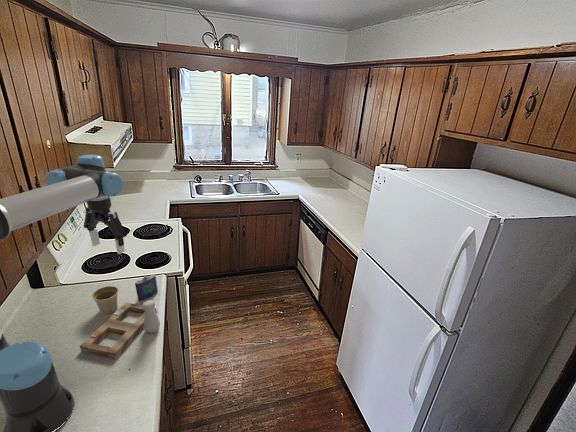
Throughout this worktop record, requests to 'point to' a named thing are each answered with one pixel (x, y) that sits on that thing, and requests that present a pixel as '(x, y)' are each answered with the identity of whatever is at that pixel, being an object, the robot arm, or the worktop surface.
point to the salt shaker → (150, 317)
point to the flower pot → (106, 299)
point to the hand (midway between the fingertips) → (108, 248)
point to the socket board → (115, 327)
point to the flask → (146, 287)
